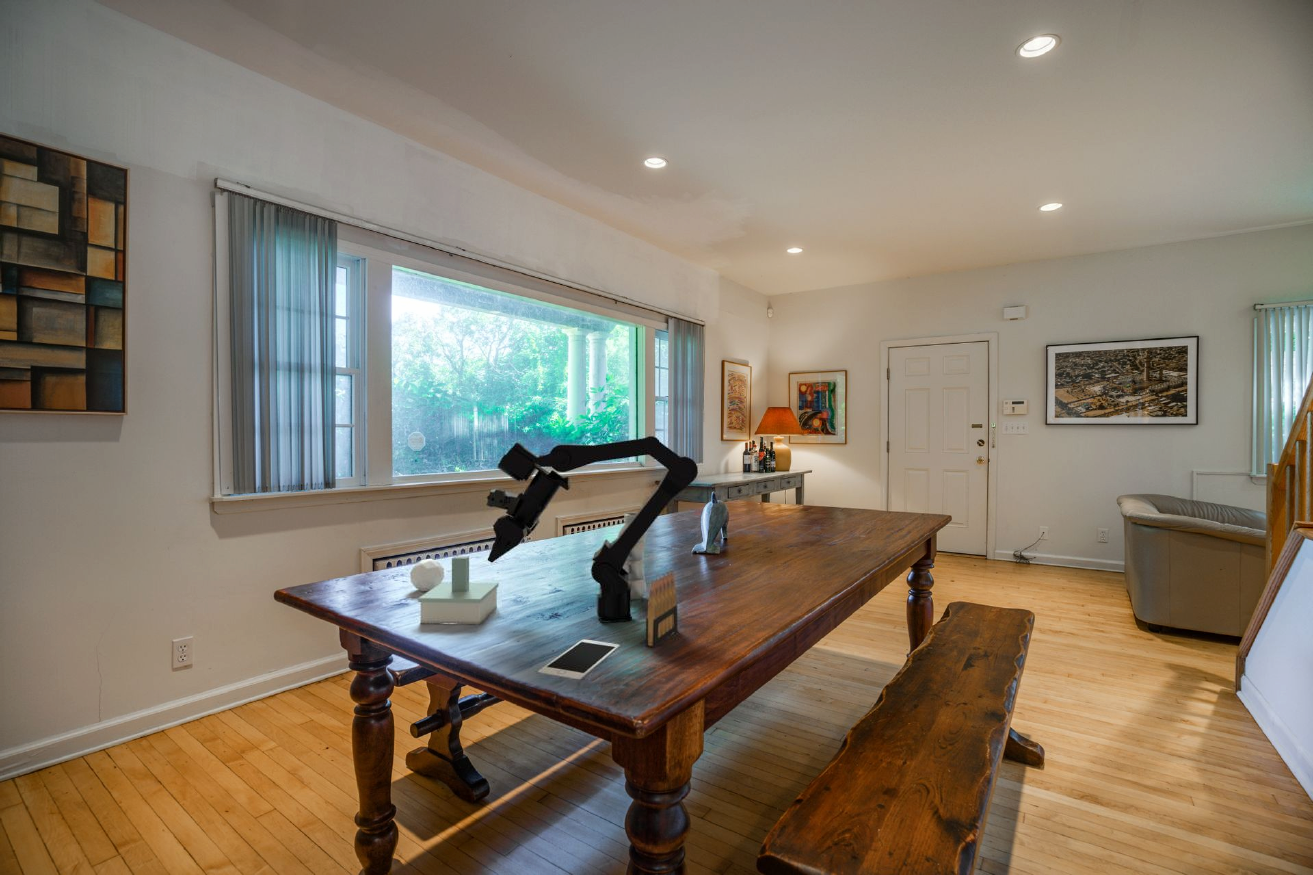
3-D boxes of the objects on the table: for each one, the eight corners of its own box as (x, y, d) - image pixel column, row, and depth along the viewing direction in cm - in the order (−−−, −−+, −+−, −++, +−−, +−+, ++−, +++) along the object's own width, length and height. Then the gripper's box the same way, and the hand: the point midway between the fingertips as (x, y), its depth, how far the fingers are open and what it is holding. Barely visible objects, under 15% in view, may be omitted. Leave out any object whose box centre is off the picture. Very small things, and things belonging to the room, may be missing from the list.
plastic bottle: (642, 603, 134) (643, 516, 134) (614, 601, 136) (614, 515, 136) (648, 595, 141) (649, 512, 141) (621, 594, 142) (622, 511, 142)
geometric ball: (435, 599, 146) (456, 572, 147) (417, 596, 139) (438, 568, 140) (416, 581, 149) (436, 555, 150) (397, 577, 141) (418, 549, 143)
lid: (498, 591, 131) (498, 551, 131) (480, 607, 119) (480, 564, 119) (442, 590, 132) (442, 551, 131) (418, 607, 119) (418, 563, 119)
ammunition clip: (654, 648, 107) (654, 582, 107) (645, 646, 108) (645, 581, 108) (677, 630, 117) (678, 570, 116) (669, 629, 117) (669, 569, 117)
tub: (496, 607, 131) (496, 586, 131) (479, 624, 119) (479, 602, 119) (443, 606, 131) (443, 586, 131) (420, 623, 119) (420, 601, 119)
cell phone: (537, 675, 96) (537, 671, 96) (582, 642, 111) (582, 638, 111) (579, 682, 93) (579, 678, 93) (620, 647, 108) (620, 644, 108)
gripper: (515, 470, 133) (475, 527, 133) (495, 477, 114) (448, 543, 114) (556, 498, 133) (516, 555, 133) (542, 509, 114) (496, 575, 114)
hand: (495, 556), depth 123 cm, fingers open, 9 cm apart
